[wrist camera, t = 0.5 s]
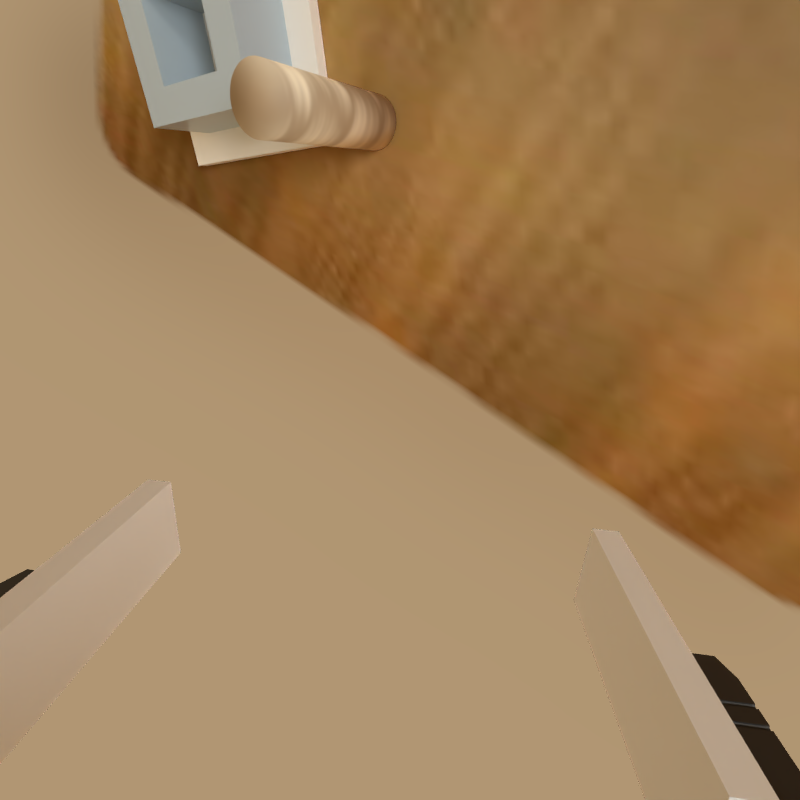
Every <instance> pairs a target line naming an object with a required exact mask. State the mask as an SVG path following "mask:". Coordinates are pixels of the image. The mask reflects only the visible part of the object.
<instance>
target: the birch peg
mask: <svg viewBox="0 0 800 800" xmlns="http://www.w3.org/2000/svg"><path fill="white" fill-rule="evenodd" d="M230 101H231V106H232V110H233V113H234V116H235V118H236V121H237V122H238V124H239V126H240V127H241V129H242V130H243V131H244V132H245V133H246V134H247V135H248V136H250V137H252V138H254V139H257V140H264V141H275V142H286V143H297V144H307V145H318V146H329V147H340V148H350V149H361V150H372V151H378V150H381V149H383V148H385V147H386V146H387V145H388V144H389V143H390V141H391V140H392V138H393V136H394V133H395V129H396V115H395V111H394V108H393V106H392V104H391V103H390V101H389V100H388V99H387V98H386V97H384V96H383V95H380V94H377V93H374V92H371V91H368V90H364V89H361V88H358V87H355V86H352V85H349V84H346V83H342V82H339V81H336V80H333V79H330V78H327V77H323V76H320V75H317V74H314V73H311V72H308V71H304V70H301V69H298V68H295V67H292V66H289V65H286V64H282V63H279V62H276V61H273V60H270V59H267V58H263V57H260V56H256V55H252V56H248V57H245V58H244V59H242V60H241V61H240V62H239V63H238V65H237V66H236V68H235V70H234V72H233V75H232V78H231V84H230Z"/></svg>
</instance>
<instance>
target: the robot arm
mask: <svg viewBox="0 0 800 800" xmlns="http://www.w3.org/2000/svg"><path fill="white" fill-rule="evenodd" d="M180 553H181V550H180V544H179V536H178V529H177V522H176V515H175V508H174V501H173V494H172V488H171V482H165V481H156V480H147V481H146V482H144V483H143V484H142V485H141V486H139V487H138V488H137V489H136V490H134V491H133V492H132V493H131V494H129V495H128V496H127V497H126V498H124V499H123V500H122V501H121V502H119V503H118V504H117V505H116V506H114V507H113V508H112V509H111V510H109V511H108V512H107V513H106V514H104V515H103V516H102V517H101V518H99V519H98V520H97V521H96V522H94V523H93V524H92V525H91V526H90V527H88V528H87V529H86V530H84V531H83V532H82V533H81V534H80V535H78V536H77V537H76V538H74V539H73V540H72V541H71V542H69V543H68V544H67V545H66V546H64V547H63V548H62V549H61V550H59V551H58V552H57V553H56V554H55V555H53V556H52V557H51V558H49V559H48V560H47V561H46V562H45V563H43V564H42V565H41V566H39V567H38V568H37V569H36V570H28V569H27V570H25V571H23V572H21V573H19V574H17V575H15V576H14V577H11V578H10V579H8V580H6V581H4V582H2V583H0V764H1V763H2V761H3V760H4V759H5V758H6V757H7V756H8V755H9V753H10V752H11V751H12V750H13V749H14V747H15V746H16V745H17V744H18V743H19V742H20V740H21V739H22V738H23V737H24V736H25V735H26V733H27V732H28V731H29V730H30V729H31V728H32V726H33V725H34V724H35V723H36V722H37V720H38V719H39V718H40V717H41V716H42V715H43V713H44V712H45V711H46V710H47V709H48V708H49V706H50V705H51V704H52V703H53V702H54V700H55V699H56V698H57V697H58V696H59V695H60V693H61V692H62V691H63V690H64V689H65V688H66V686H67V685H68V684H69V683H70V682H71V681H72V679H73V678H74V677H75V676H76V675H77V674H78V672H79V671H80V670H81V669H82V668H83V666H84V665H85V664H86V663H87V662H88V661H89V659H90V658H91V657H92V656H93V655H94V654H95V652H96V651H97V650H98V649H99V648H100V647H101V645H102V644H103V643H104V642H105V641H106V640H107V638H108V637H109V636H110V635H111V634H112V632H113V631H114V630H115V629H116V628H117V627H118V625H119V624H120V623H121V622H122V621H123V620H124V618H125V617H126V616H127V615H128V614H129V613H130V611H131V610H132V609H133V608H134V607H135V605H136V604H137V603H138V602H139V601H140V600H141V598H142V597H143V596H144V595H145V594H146V592H147V591H148V590H149V589H150V588H151V587H152V585H153V584H154V583H155V582H156V581H157V580H158V578H159V577H160V576H161V575H162V574H163V573H164V571H165V570H166V569H167V568H168V567H169V566H170V564H171V563H172V562H173V561H174V560H175V558H176V557H177V556H178V555H179V554H180ZM574 603H575V605H576V608H577V611H578V614H579V616H580V619H581V622H582V625H583V627H584V630H585V633H586V636H587V638H588V642H589V644H590V647H591V650H592V653H593V656H594V658H595V661H596V664H597V667H598V670H599V672H600V675H601V678H602V681H603V683H604V686H605V689H606V692H607V695H608V698H609V700H610V703H611V706H612V709H613V712H614V714H615V717H616V720H617V723H618V726H619V728H620V731H621V734H622V737H623V740H624V742H625V745H626V748H627V751H628V754H629V756H630V759H631V762H632V765H633V767H634V770H635V773H636V776H637V779H638V782H639V784H640V786H641V790H642V793H643V795H644V798H645V800H800V771H799V769H798V768H797V766H796V765H795V763H794V762H793V760H792V759H791V757H790V756H789V754H788V753H787V751H786V750H785V748H784V747H783V745H782V744H781V742H780V741H779V739H778V738H777V736H776V735H775V733H774V732H773V731H771V730H770V728H769V724H768V723H767V721H766V720H765V718H764V717H763V715H762V714H761V712H760V711H759V709H756V708H755V703H754V702H753V700H752V699H751V697H750V696H749V694H748V693H747V691H746V690H745V688H744V687H743V685H742V684H741V682H740V681H739V679H738V678H737V677H736V676H734V675H733V674H732V673H731V672H730V671H729V670H728V669H727V668H726V667H725V666H724V665H723V664H722V663H721V662H720V661H719V660H718V659H717V658H716V657H714V656H709V655H701V654H693V653H691V651H690V650H689V648H688V646H687V645H686V643H685V642H684V639H683V638H682V636H681V635H680V633H679V631H678V629H677V628H676V626H675V624H674V623H673V621H672V619H671V618H670V616H669V615H668V613H667V611H666V609H665V608H664V606H663V604H662V603H661V601H660V599H659V598H658V596H657V594H656V593H655V591H654V589H653V588H652V586H651V584H650V583H649V581H648V579H647V578H646V576H645V574H644V573H643V571H642V569H641V568H640V566H639V564H638V563H637V561H636V559H635V558H634V556H633V554H632V553H631V551H630V549H629V548H628V546H627V544H626V543H625V541H624V539H623V538H622V536H621V534H620V533H619V531H609V530H601V529H592V532H591V536H590V540H589V544H588V548H587V551H586V555H585V559H584V563H583V566H582V570H581V574H580V578H579V582H578V586H577V589H576V593H575V597H574Z"/></svg>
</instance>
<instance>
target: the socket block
mask: <svg viewBox="0 0 800 800" xmlns="http://www.w3.org/2000/svg"><path fill="white" fill-rule="evenodd" d="M118 2H119V6H120V9H121V13H122V16H123V20H124V23H125V27H126V31H127V34H128V38H129V41H130V45H131V48H132V52H133V55H134V59H135V62H136V66H137V69H138V73H139V76H140V80H141V84H142V87H143V91H144V94H145V98H146V101H147V105H148V108H149V112H150V115H151V119H152V122H153V126H154V128H161V129H171V130H181V131H190V134H191V138H192V142H193V146H194V150H195V153H196V157H197V161H198V165H199V166H210V165H216V164H221V163H227V162H233V161H239V160H245V159H250V158H256V157H262V156H268V155H274V154H280V153H285V152H291V151H297V150H303V149H309V148H314V147H320V146H318V145H307V144H297V143H286V142H275V141H264V140H257V139H254V138H252V137H250V136H248V135H247V134H246V133H245V132H244V131H243V130H242V129H241V127H240V126H239V124H238V122H237V121H236V118H235V116H234V113H233V110H232V106H231V101H230V84H231V78H232V75H233V72H234V70H235V68H236V66H237V65H238V63H239V62H240V61H241V60H242V59H244V58H245V57H248V56H252V55H256V56H260V57H263V58H267V59H270V60H273V61H276V62H279V63H282V64H286V65H289V66H292V67H295V68H298V69H301V70H304V71H308V72H311V73H314V74H317V75H320V76H323V77H327V70H326V63H325V55H324V48H323V40H322V33H321V25H320V17H319V10H318V2H317V0H118Z"/></svg>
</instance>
